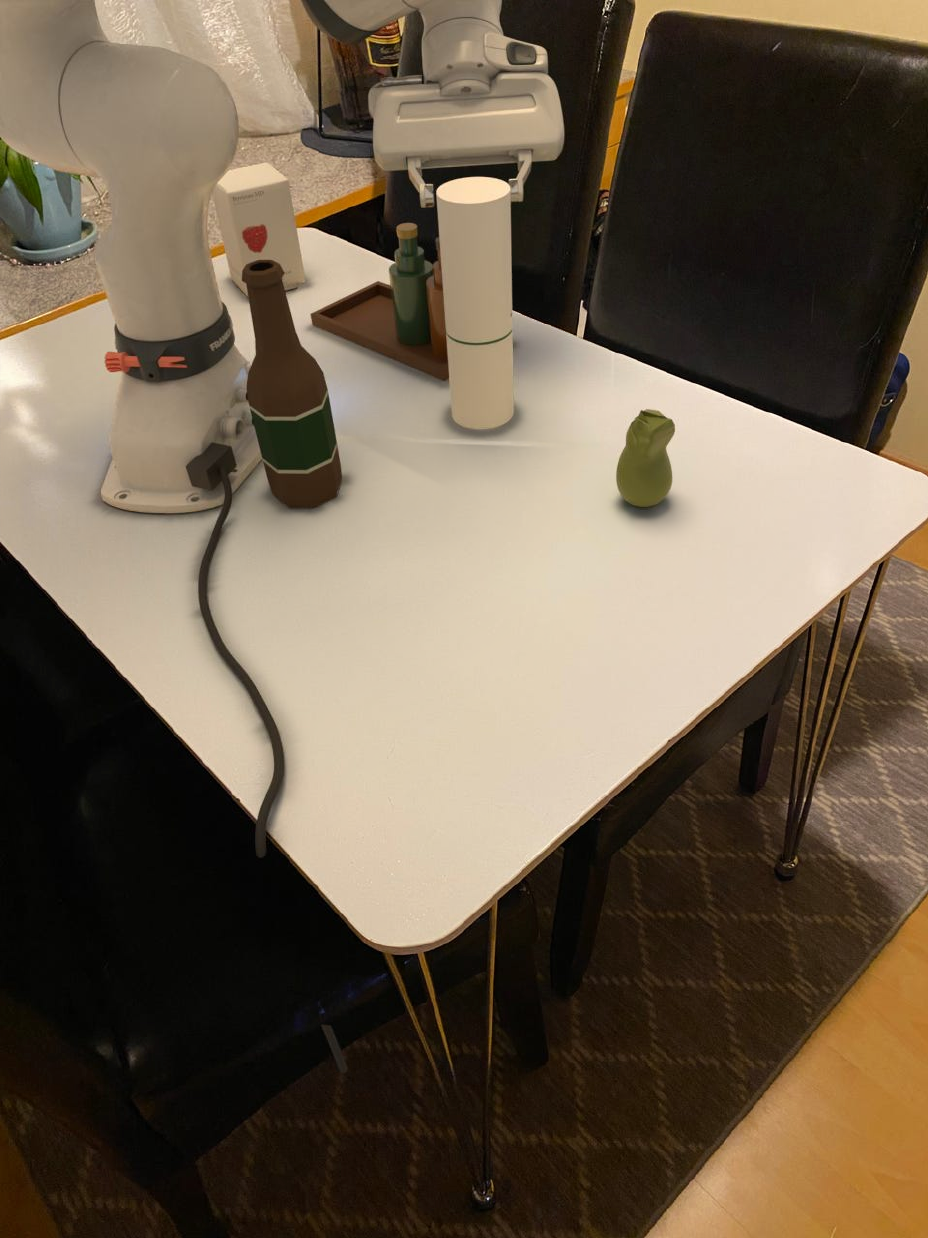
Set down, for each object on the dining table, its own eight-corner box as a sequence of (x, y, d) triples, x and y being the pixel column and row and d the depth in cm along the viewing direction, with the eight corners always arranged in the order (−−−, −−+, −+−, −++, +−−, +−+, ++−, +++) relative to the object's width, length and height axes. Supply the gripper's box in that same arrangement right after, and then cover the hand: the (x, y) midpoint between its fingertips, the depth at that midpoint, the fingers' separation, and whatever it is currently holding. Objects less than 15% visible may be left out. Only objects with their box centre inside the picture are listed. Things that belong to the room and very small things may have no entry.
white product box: (249, 301, 129) (224, 192, 118) (230, 279, 134) (205, 173, 124) (308, 285, 131) (289, 177, 121) (287, 264, 137) (267, 159, 127)
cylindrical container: (515, 400, 106) (512, 175, 88) (511, 433, 101) (507, 202, 83) (455, 399, 107) (440, 177, 89) (448, 433, 102) (431, 204, 84)
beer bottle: (266, 476, 97) (211, 256, 81) (336, 461, 99) (296, 241, 82) (277, 517, 92) (221, 290, 75) (351, 501, 93) (312, 274, 77)
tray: (511, 344, 116) (511, 329, 114) (444, 385, 109) (443, 369, 108) (379, 295, 128) (378, 280, 127) (312, 328, 122) (310, 313, 120)
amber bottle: (472, 361, 112) (466, 248, 102) (428, 360, 113) (418, 248, 103) (477, 339, 116) (472, 229, 106) (435, 339, 116) (426, 229, 107)
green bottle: (434, 345, 115) (425, 235, 105) (392, 345, 116) (379, 235, 106) (440, 325, 119) (432, 217, 109) (400, 325, 120) (388, 217, 110)
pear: (638, 478, 94) (646, 393, 87) (680, 498, 91) (692, 412, 84) (604, 502, 91) (610, 416, 84) (646, 524, 88) (656, 437, 81)
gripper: (363, 60, 92) (370, 193, 92) (561, 47, 92) (569, 181, 92) (370, 96, 99) (377, 221, 99) (556, 84, 98) (563, 209, 98)
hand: (471, 202), depth 95 cm, fingers open, 8 cm apart
